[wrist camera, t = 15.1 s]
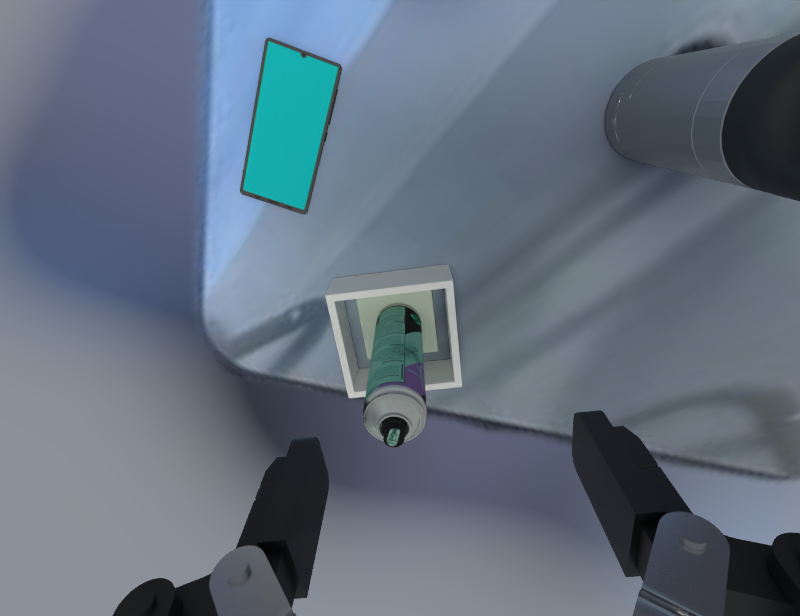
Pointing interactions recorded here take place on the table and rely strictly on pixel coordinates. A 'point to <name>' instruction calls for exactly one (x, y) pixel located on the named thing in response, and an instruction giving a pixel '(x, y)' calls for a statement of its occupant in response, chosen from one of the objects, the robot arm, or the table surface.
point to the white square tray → (385, 291)
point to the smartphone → (289, 125)
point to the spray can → (396, 377)
